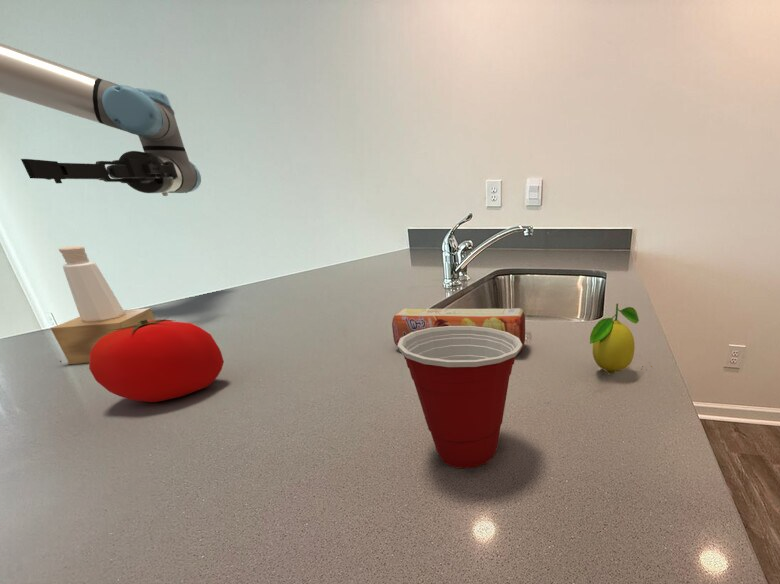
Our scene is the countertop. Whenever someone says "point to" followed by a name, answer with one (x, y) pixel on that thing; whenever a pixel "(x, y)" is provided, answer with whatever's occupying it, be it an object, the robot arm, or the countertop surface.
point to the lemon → (614, 341)
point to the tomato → (156, 360)
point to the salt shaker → (89, 287)
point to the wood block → (93, 333)
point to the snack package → (459, 320)
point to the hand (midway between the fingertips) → (79, 168)
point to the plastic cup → (462, 387)
